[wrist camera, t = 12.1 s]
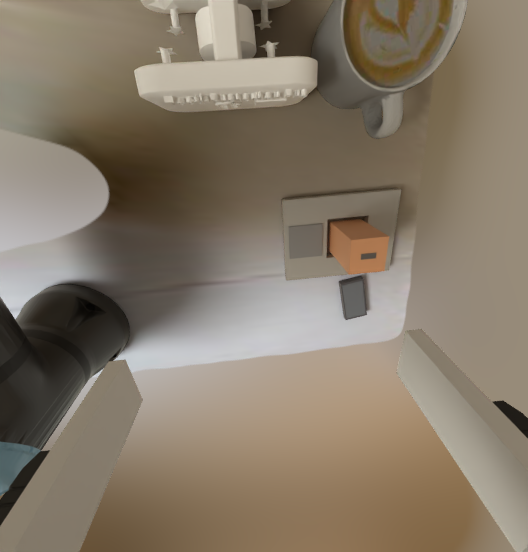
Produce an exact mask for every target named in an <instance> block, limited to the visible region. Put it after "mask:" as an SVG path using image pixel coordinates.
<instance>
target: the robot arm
mask: <svg viewBox="0 0 528 552" xmlns="http://www.w3.org/2000/svg"><path fill="white" fill-rule="evenodd" d="M129 334H130V329H129V324H128V321H127V318H126V316H125V315H124V313H123V312H122V310H121V309H120V308H119V307H118V306H117V305H116V304H115V303H114V302H113V301H112V300H111V299H109V298H108V297H106V296H105V295H103V294H101V293H99V292H97V291H95V290H93V289H90V288H87V287H83V286H78V285H56V286H52V287H49V288H47V289H45V290H43V291H41V292H40V293H38V294H37V295H35V296H34V297H33V298H31V299H30V300H29V301H28V302H27V303H26V304H25V305H24V306H23V308H22V310H21V312H20V314H19V315H18V317H17V318H16V320H15V319H14V317H13V316H12V314H11V313H10V311H9V309H8V308H7V306H6V305H5V303H4V302H3V300H2V299H1V297H0V496H1V495H2V494H4V493H5V494H4V495H3V497H2V498H1V499H0V552H79V551H80V548H81V546H82V544H83V541H84V539H85V537H86V534H87V532H88V529H89V527H90V524H91V522H92V520H93V517H94V515H95V513H96V510H97V508H98V505H99V503H100V501H101V498H102V496H103V494H104V491H105V489H106V486H107V484H108V482H109V479H110V477H111V475H112V472H113V470H114V467H115V465H116V463H117V460H118V458H119V455H120V453H121V451H122V448H123V446H124V444H125V441H126V439H127V436H128V434H129V432H130V429H131V427H132V425H133V422H134V420H135V417H136V415H137V413H138V410H139V408H140V405H141V403H142V401H143V399H142V397H141V395H140V392H139V390H138V388H137V386H136V383H135V381H134V379H133V376H132V374H131V372H130V369H129V367H128V365H127V362H126V360H118V361H113V360H115V359H116V358H117V357H118V356H119V354H120V353H121V352H122V350H123V348H124V347H125V345H126V344H127V342H128V339H129ZM104 367H105V368H104ZM103 368H104V369H103ZM102 369H103V371H102V372H101V374H100V375H99V377H98V378H97V380H96V381H95V383H94V385H93V386H92V388H91V389H90V391H89V392H88V394H87V395H86V397H85V398H84V400H83V401H82V403H81V404H80V406H79V407H78V409H77V410H76V412H75V413H74V415H73V417H72V418H71V419H70V421H69V423H68V424H67V426H66V427H65V429H64V430H63V432H62V433H61V435H60V436H59V438H58V439H57V441H56V442H55V444H54V445H53V447H52V448H51V450H49V451H41V450H42V449H43V447H44V446H45V444H46V443H47V441H48V439H49V438H50V436H51V435H52V434H53V432H54V431H55V429H56V428H57V426H58V425H59V423H60V422H61V420H62V418H63V417H64V416H65V414H66V413H67V411H68V409H69V408H70V406H71V405H72V404H73V402H74V400H75V399H76V397H77V396H78V395H79V393H80V391H81V390H82V389H83V387H84V386H85V384H86V383H87V381H88V380H89V379H90V378H91V377H92V376H94V375H95V374H96V373H98V372H99V371H100V370H102ZM397 374H398V376H399V378H400V379H401V380H402V382H403V384H404V385H405V386H406V388H407V389H408V391H409V392H410V394H411V395H412V397H413V398H414V400H415V401H416V403H417V404H418V406H419V407H420V409H421V410H422V412H423V413H424V415H425V416H426V418H427V419H428V421H429V422H430V424H431V425H432V427H433V428H434V430H435V431H436V433H437V434H438V436H439V437H440V439H441V440H442V442H443V443H444V445H445V446H446V448H447V449H448V451H449V452H450V454H451V455H452V457H453V458H454V459H455V461H456V463H457V464H458V466H459V467H460V469H461V470H462V472H463V473H464V475H465V476H466V478H467V479H468V481H469V482H470V484H471V485H472V487H473V488H474V490H475V491H476V493H477V494H478V496H479V497H480V499H481V500H482V502H483V503H484V505H485V506H486V508H487V509H488V511H489V512H490V514H491V515H492V516H493V518H494V520H495V521H496V523H497V524H498V525H499V527H500V528H501V530H502V531H503V533H504V534H505V536H506V538H507V539H508V540H509V542H510V543H511V545H512V546H513V548H514V550H515V551H516V552H528V418H527V417H526V416H524V414H523V413H521V412H520V411H518V410H517V409H515V408H514V407H512V406H510V405H509V404H507V403H506V402H504V401H495V402H492V401H491V400H490V399H489V398H488V397H487V396H486V395H485V394H484V393H483V392H482V391H481V390H480V389H479V388H478V387H477V386H476V385H475V384H474V383H473V382H472V381H471V380H470V379H469V378H468V377H467V376H466V375H465V374H464V372H462V370H461V369H460V368H459V367H457V365H456V364H455V363H454V362H453V361H452V360H451V359H450V358H449V357H448V356H447V355H446V354H445V353H444V352H443V351H442V350H441V349H440V348H439V347H438V346H437V345H436V344H435V343H434V342H433V341H432V340H431V338H430V337H429V336H428V335H427V334H426V333H425V332H424V331H423V330H422V329H418V330H409V331H405V335H404V340H403V345H402V349H401V354H400V359H399V364H398V369H397Z"/></svg>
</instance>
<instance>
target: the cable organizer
mask: <svg viewBox="0 0 528 552" xmlns="http://www.w3.org/2000/svg"><path fill="white" fill-rule="evenodd" d="M140 1H141V2H142V4H143V5H144V6H145V7H146V8H147V9H149V10H151V11H154V12H158V13H164V14H171V20H172V26H173V27H172V26H170V29H171V30H168V31H166V32H171V33H174V35H175V36H177V35H178V34H185V33H183V32H182V31H181V28H182V27H180V24H179V18H178V14H180V13H196V16H195V22H196V29H197V37H198V45H199V52H200V56H201V58H202V59H203V60H204V61H195V62H177V63H171V60H170V54H176V53H174V52H172V49H173V48H168V49H165V48H162V47H159V46H158V47H159V49H160V51H157V53H161V57H162V62H163V63H159V64H150V65H145V66H141V67H139V68H137V69H136V70H135V71H134V74H135V79H136V83H137V87H138V92H139V96H140V97H142V98H144V99H146V100H148V101H150V102H152V103H154V104H156V105H158V106H160V107H162V108H164V109H166V110H168V111H172V112H201V111H217V110H233V109H250V108H266V107H282V106H289V105H293V104H297V103H299V102H300V101H301V100H302V99H303V98H305V97H307V95H308V94H309V93H310V92H311V91H312V90H313V89H314V88H315V87H316V86H317V70H318V62H317V60H315V59H313V58H310V57H304V56H285V57H275V49H277V47H276V45H277V44H278V43H279V42H276V43H271V42H269V41H267V43H266V45H263V46H259V47H263V48H265V51H267V58H252V57H253V56H254V55H255V54H256V41H255V30H254V20H253V13H252V11H251V10H259V9H261V23H260V24H257V25H256V26H259V27H260V29H261V30H262V29H264V28H271V27H270V25H269V24H270V23H271V22H272V21H268V9H272V8H277V7H281V6H283V5H285V4H287V3H288V2H290V1H291V0H140Z"/></svg>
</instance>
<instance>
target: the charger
mask: <svg viewBox="0 0 528 552" xmlns="http://www.w3.org/2000/svg"><path fill="white" fill-rule="evenodd" d="M388 242H389V236H388V235H386V234H384V233H383V232H381V231H380V230H378V229H376V228H375V227H373V226H371V225H370V224H368V223H366V222H365V221H363V220H361V219H352V220H341V221H331V222H330V232H329V251H330V252H331V253H332V255H333V256H334V257H335V258H336V259H337V261H338V262H339V263H340V264H341V266H342V267H343V268H344V269H345V270H346V272H347V273H348V274H359V273H369V272H379V271H384V270H385V263H386V256H387V249H388Z"/></svg>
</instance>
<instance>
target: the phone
mask: <svg viewBox="0 0 528 552" xmlns="http://www.w3.org/2000/svg"><path fill="white" fill-rule="evenodd" d="M339 287H340V293H341V300H342V307H343V314H344V318H345V319H346V320H348V319H352V318H356V317H360V316H364V315H367V313H366V302H365V291H364V281H363V278H362V277H361V276H358V277H354V278H350V279H346V280H342V281H339Z"/></svg>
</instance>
